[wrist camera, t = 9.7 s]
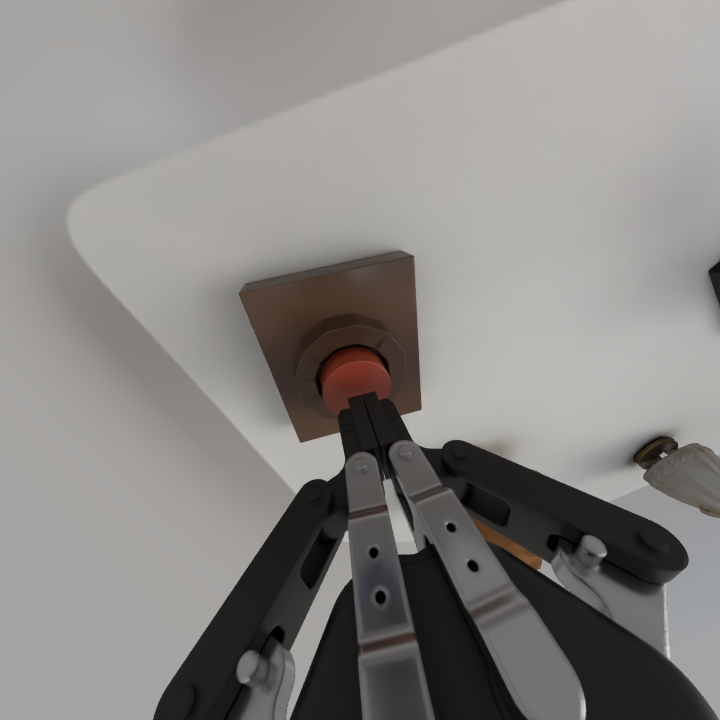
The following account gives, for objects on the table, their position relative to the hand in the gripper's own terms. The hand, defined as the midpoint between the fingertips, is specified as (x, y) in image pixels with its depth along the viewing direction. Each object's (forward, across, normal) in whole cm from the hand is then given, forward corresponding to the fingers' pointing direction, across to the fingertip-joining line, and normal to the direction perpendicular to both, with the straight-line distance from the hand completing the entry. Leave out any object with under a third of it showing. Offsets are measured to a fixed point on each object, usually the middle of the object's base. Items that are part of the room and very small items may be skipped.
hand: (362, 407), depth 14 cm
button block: (+7, 0, 0) cm, 7 cm away
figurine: (+7, -40, +28) cm, 49 cm away
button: (+3, 0, 0) cm, 3 cm away
